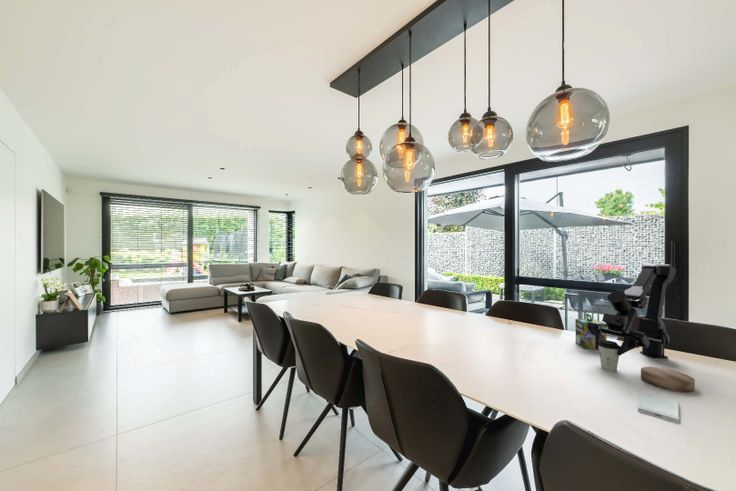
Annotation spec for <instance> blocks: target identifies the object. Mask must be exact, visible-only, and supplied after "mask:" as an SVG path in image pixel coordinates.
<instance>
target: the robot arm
mask: <svg viewBox="0 0 736 491" xmlns="http://www.w3.org/2000/svg"><path fill="white" fill-rule="evenodd" d="M676 273H677V269H676V267H674V266H673V265H672V264H671V263H670V264H667V263H651V264H644V265H642V267H641V271H640V273H639V275H637V278H636V279H635V281H634V283H633V284H632V286H631V287H629V288H627V289H625V290H624V289H616V291H612V292H610V293H608V295H607V296H606V297H607V298H606V299H607V301H608V302H609V304H610V306H611V308H612V309H613V310H614V311H616V313H615V314H611V313H605V312H604V313H603V316H602V320H601V322H603V323H605V325H606V328H602V327H601V325H600V324H599V323H594V322H588V323H587V325H586V327H587V328H588V330H589V331H590V333H591V334H592V335H595V348H596V349H595V350H599V349H598V348H599V346H598V343H599V342H600V341H601V340H605V338H604V336H603V335H604V333H605V334H606V335H610V336H614V337H618V338H622V339H623V341H622V342H621V345H620V348H619V350H618V353H617V354H618V356H619V357H620V356H621V355H624V354H625V353H627V352H629V351H631V350H634V349H636V348H637V349H639V348H641V350H642V351H640V350H639V353H640V354H642V355H644V356H647V357H649V358H653V359H668V358H669V356H667V355H666V354H665V345H670V340H671V339H670V336H669V334H668V333H667V330H666V325H665V323H664V321H663V319H662V316H663V311H664V303H665V298H666V291H667V286H668V285H670V283H672V281H674V277H675V275H676ZM649 289H650V290H649ZM648 292H649V295H648V297H647V293H648ZM645 307H646V312H645V313H646V314H645V316H644V317H640V318H639V315H638V311H637V309H638V310H639V309H640V310H643V309H644V308H645ZM638 318H639V319H638ZM635 319H638V325H637V328H636V330H633V326H632V325H633V323H634V320H635ZM629 331H630V332H629Z"/></svg>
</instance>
